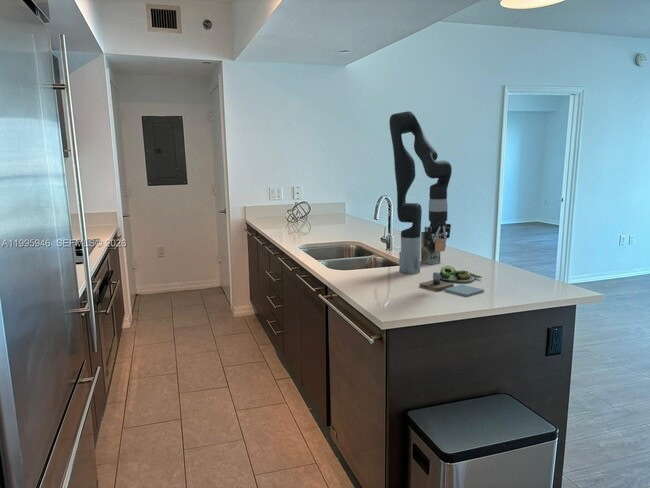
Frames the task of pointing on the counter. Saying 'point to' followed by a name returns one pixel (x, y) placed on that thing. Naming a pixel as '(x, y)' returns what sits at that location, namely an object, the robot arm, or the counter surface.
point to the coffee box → (428, 251)
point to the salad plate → (456, 275)
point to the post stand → (436, 283)
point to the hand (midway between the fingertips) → (437, 249)
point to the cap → (439, 244)
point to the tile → (464, 290)
